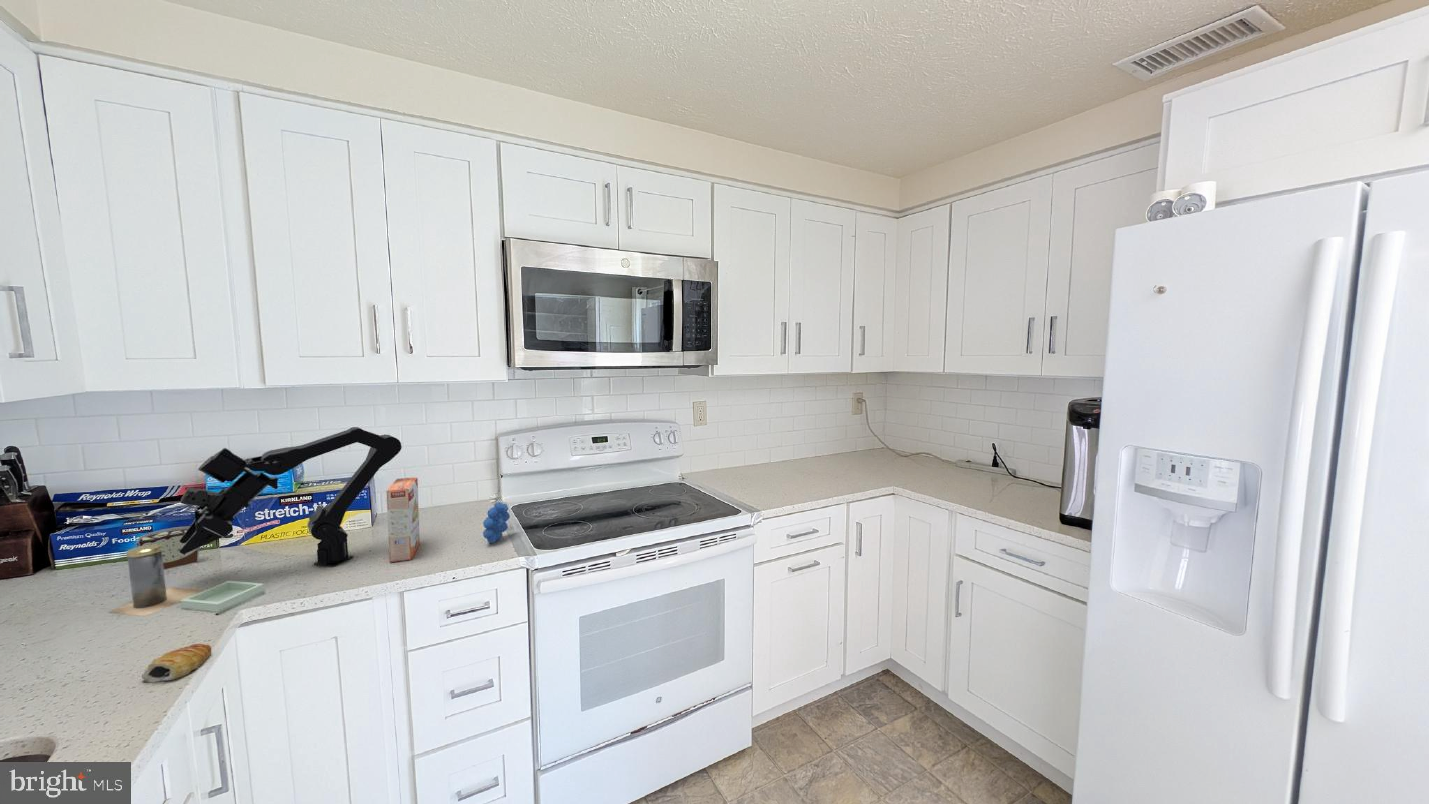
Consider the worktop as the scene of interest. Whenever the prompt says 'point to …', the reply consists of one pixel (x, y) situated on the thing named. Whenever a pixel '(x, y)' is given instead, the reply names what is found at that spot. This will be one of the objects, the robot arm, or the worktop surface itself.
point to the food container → (170, 546)
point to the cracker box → (403, 519)
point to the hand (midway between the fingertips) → (181, 547)
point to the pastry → (176, 663)
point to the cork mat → (172, 598)
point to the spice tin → (147, 575)
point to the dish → (223, 597)
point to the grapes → (496, 522)
